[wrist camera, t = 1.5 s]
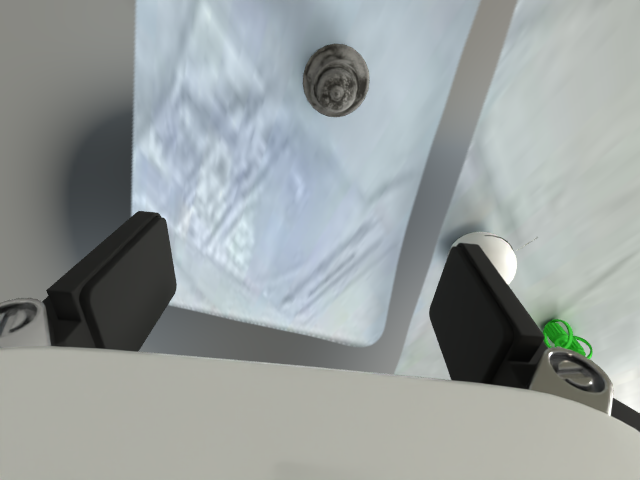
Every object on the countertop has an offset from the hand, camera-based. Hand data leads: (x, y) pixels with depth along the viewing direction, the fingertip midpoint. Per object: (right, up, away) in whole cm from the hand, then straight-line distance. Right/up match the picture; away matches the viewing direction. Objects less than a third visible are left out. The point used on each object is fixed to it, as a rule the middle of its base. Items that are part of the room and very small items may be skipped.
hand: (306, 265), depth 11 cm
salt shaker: (+2, +17, +21) cm, 27 cm away
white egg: (+20, +1, +30) cm, 36 cm away
